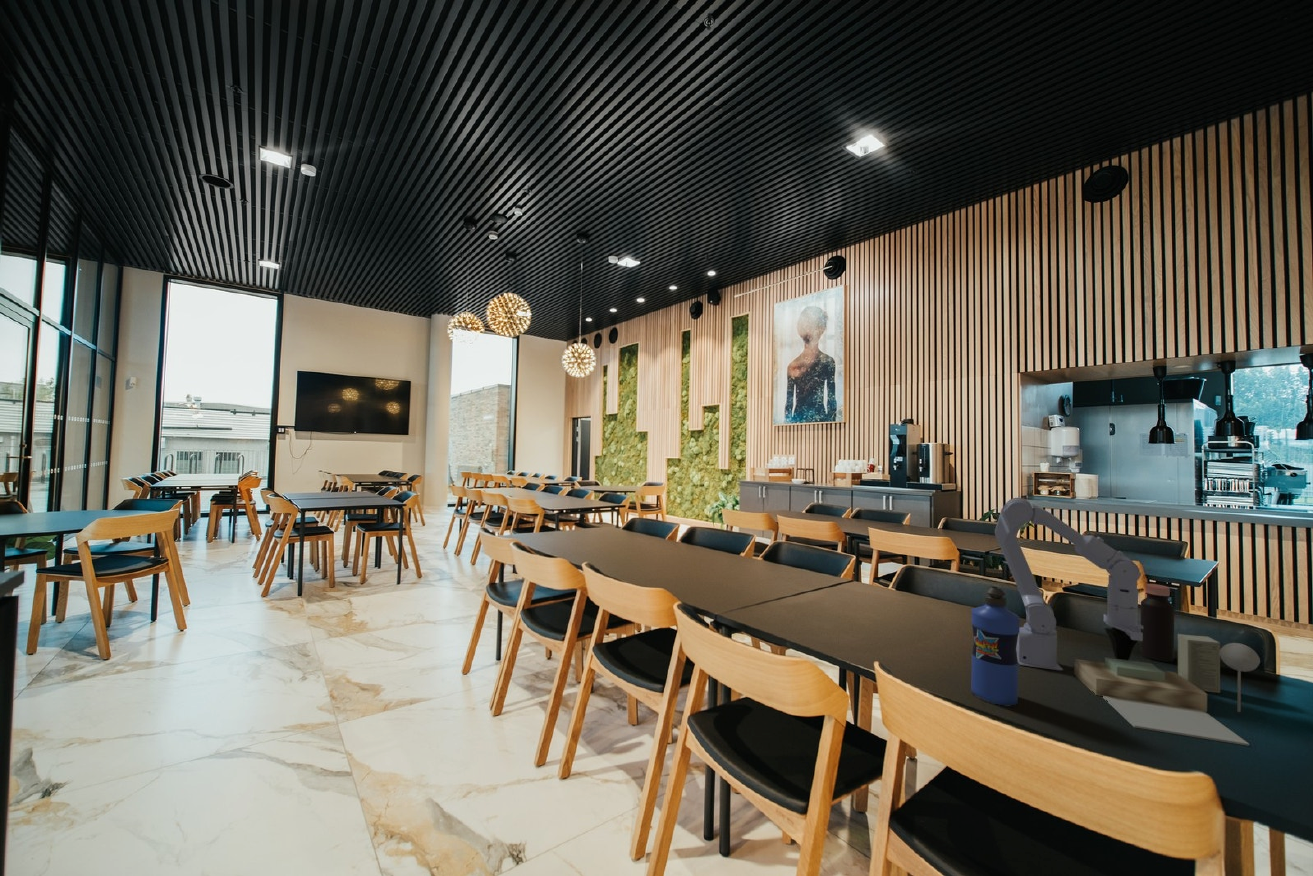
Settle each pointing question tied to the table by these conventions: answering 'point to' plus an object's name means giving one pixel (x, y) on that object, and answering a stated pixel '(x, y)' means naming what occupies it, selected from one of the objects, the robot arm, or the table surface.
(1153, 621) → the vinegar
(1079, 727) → the table surface
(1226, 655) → the lollipop
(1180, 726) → the mat
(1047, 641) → the robot arm
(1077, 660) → the riser
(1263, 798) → the table surface
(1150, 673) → the tile
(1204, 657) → the skincare box
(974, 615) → the water bottle
